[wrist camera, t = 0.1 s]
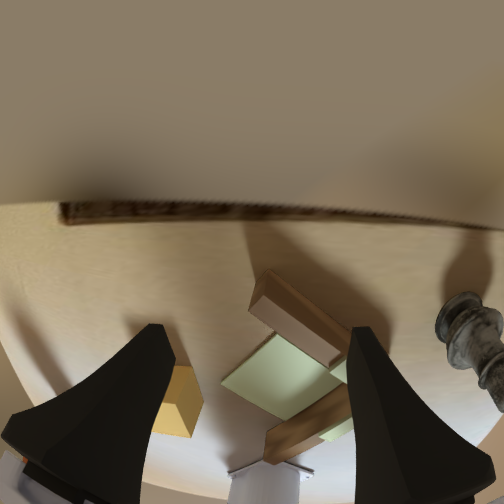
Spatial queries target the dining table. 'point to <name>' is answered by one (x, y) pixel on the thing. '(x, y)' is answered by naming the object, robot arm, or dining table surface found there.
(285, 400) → the sage pad
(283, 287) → the walnut walls
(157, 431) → the ochre block
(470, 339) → the grey stone finial
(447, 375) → the dining table surface
